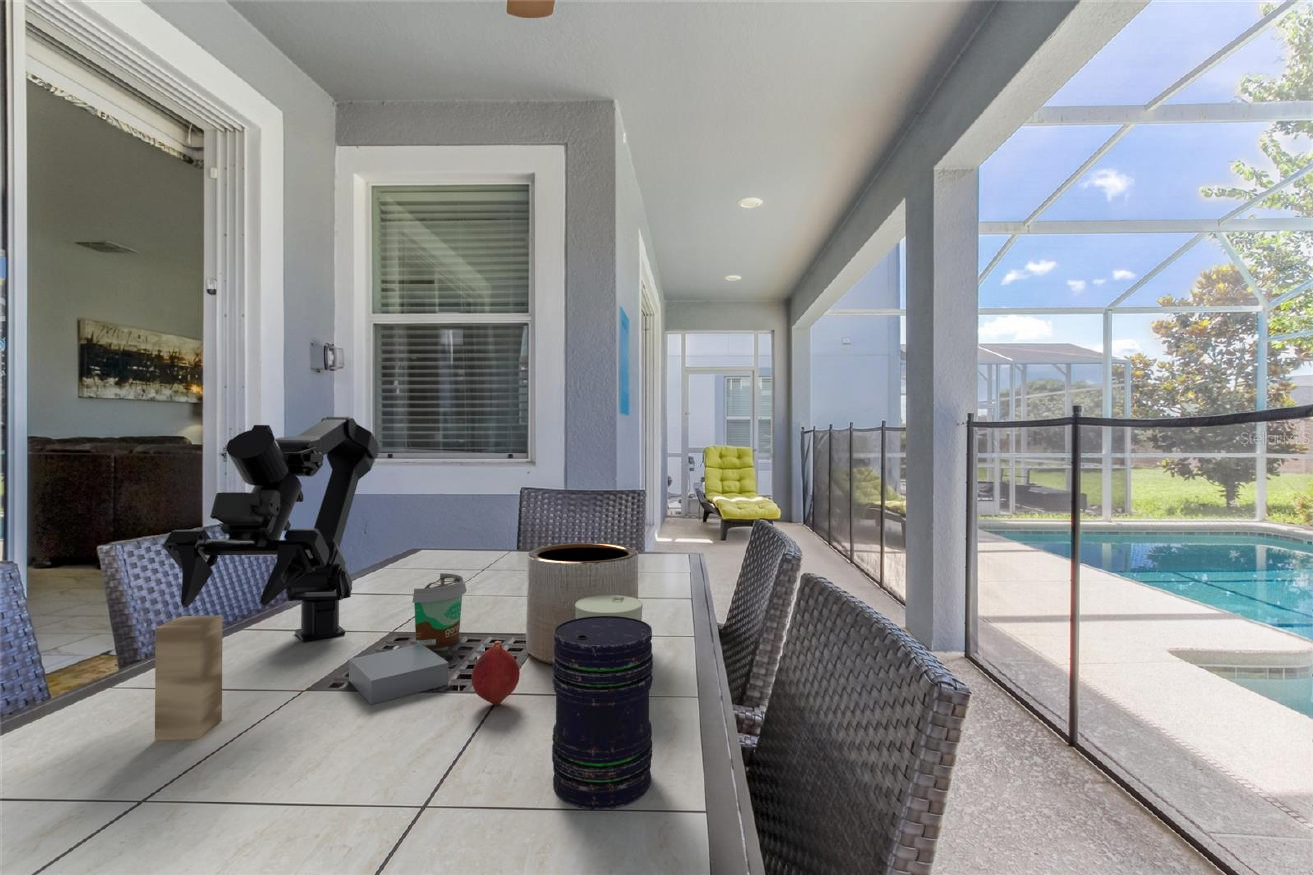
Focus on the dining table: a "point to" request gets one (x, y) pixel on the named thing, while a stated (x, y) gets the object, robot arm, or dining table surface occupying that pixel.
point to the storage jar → (602, 711)
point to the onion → (495, 674)
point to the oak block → (188, 677)
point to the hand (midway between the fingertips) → (223, 605)
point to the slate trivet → (397, 673)
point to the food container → (439, 611)
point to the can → (609, 606)
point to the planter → (572, 586)
